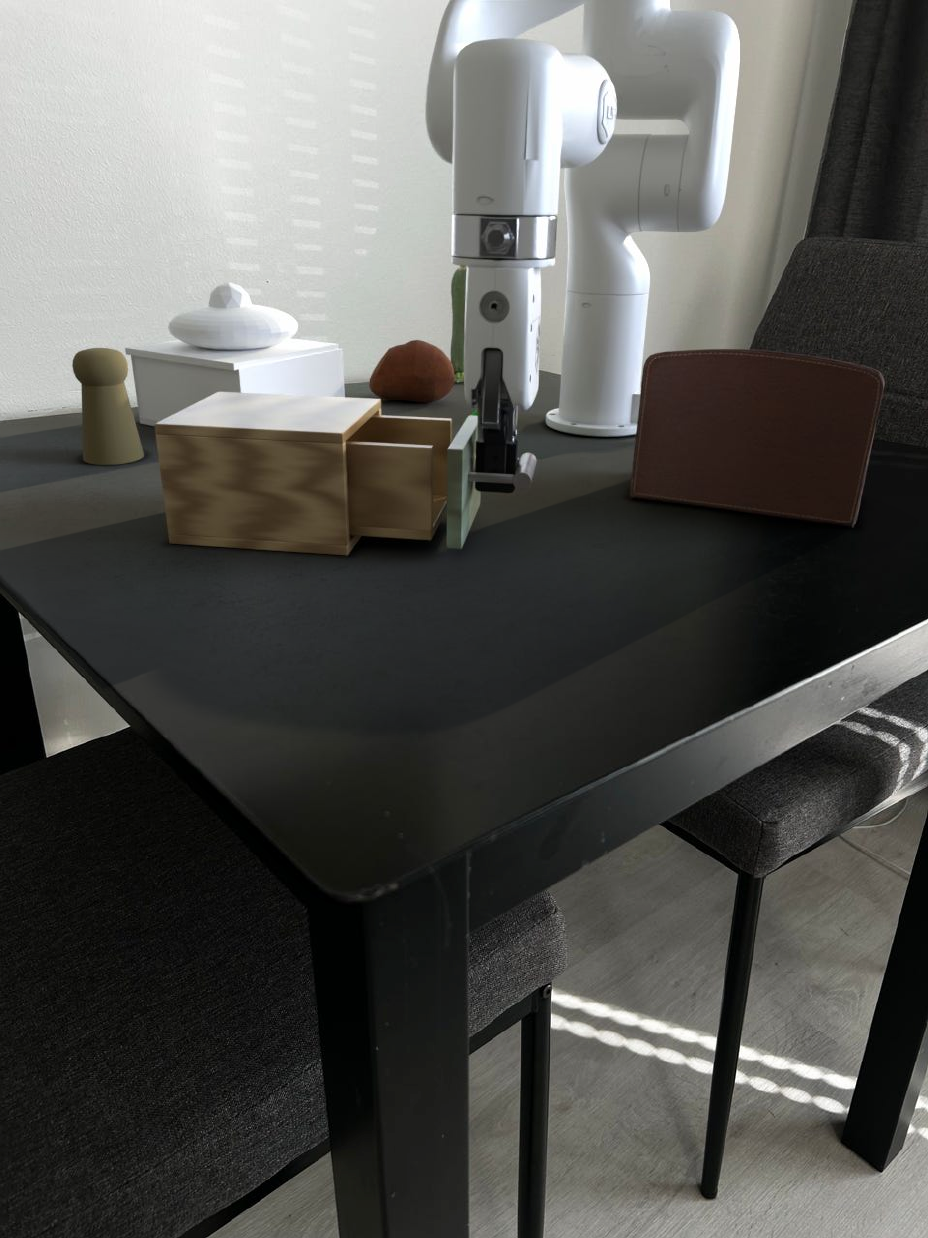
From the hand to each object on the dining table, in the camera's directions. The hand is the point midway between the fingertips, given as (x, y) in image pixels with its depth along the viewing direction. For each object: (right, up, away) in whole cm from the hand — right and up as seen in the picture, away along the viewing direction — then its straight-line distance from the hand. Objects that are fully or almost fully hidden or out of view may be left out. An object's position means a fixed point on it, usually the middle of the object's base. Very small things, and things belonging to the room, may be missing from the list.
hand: (495, 488), depth 73 cm
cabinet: (-18, -2, +4) cm, 19 cm away
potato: (-10, +19, +51) cm, 55 cm away
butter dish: (-30, +14, +39) cm, 51 cm away
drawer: (-6, -2, +2) cm, 7 cm away
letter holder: (+24, +1, +13) cm, 27 cm away
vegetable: (-2, +25, +63) cm, 68 cm away
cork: (-39, +6, +22) cm, 46 cm away
